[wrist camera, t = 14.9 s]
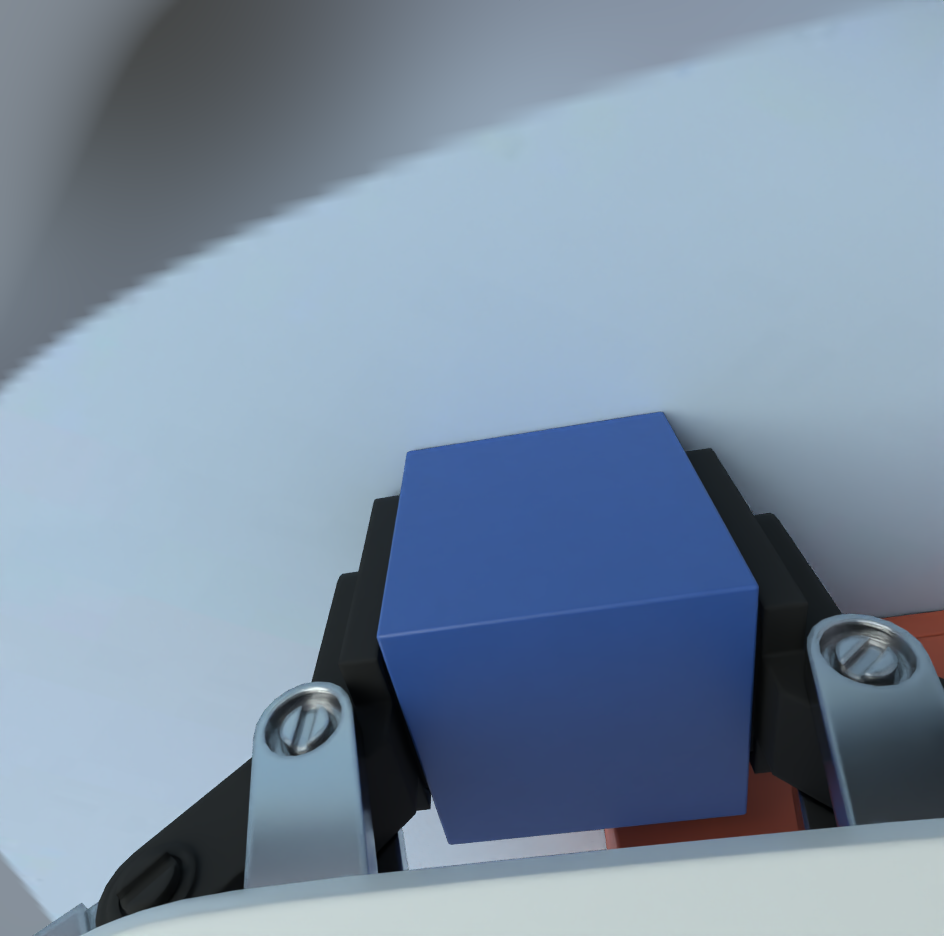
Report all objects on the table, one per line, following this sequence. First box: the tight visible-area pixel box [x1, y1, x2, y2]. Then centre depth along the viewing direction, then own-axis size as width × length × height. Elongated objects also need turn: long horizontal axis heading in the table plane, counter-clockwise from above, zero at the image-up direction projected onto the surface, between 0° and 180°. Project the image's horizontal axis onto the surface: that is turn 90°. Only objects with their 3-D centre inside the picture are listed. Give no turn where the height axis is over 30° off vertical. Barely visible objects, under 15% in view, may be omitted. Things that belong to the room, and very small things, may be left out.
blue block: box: [377, 412, 759, 845], centre depth 11 cm, size 4×4×4 cm
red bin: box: [604, 610, 944, 850], centre depth 15 cm, size 13×13×5 cm
